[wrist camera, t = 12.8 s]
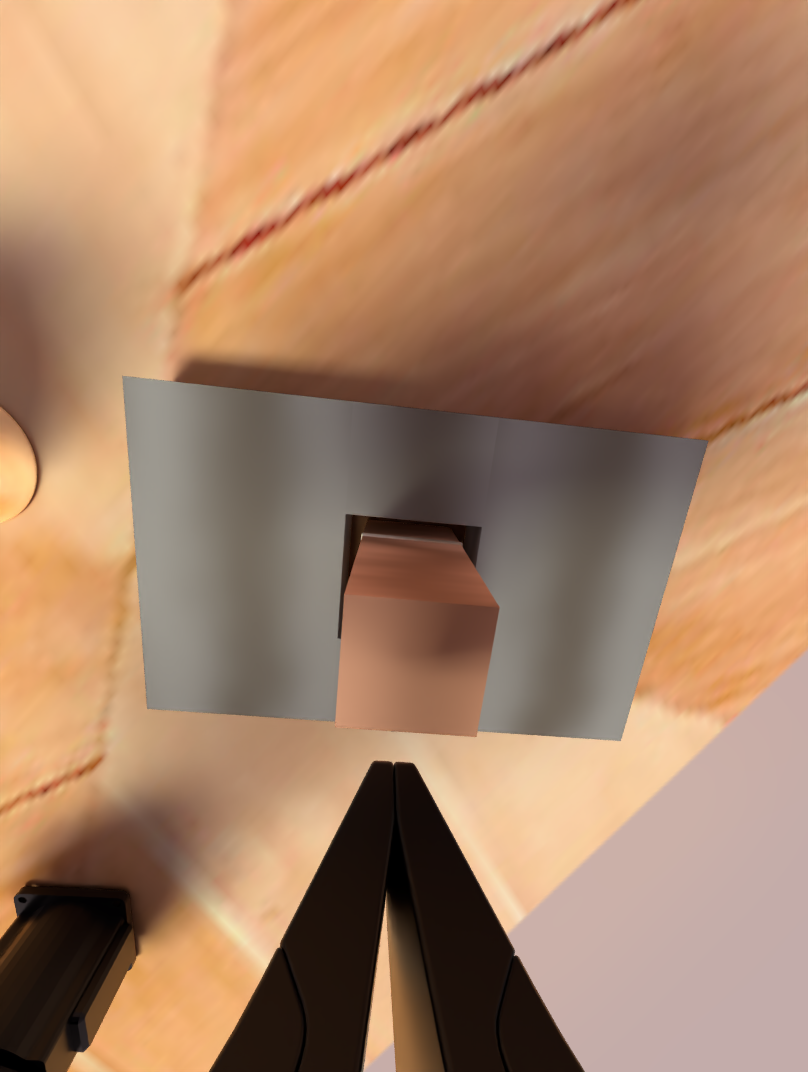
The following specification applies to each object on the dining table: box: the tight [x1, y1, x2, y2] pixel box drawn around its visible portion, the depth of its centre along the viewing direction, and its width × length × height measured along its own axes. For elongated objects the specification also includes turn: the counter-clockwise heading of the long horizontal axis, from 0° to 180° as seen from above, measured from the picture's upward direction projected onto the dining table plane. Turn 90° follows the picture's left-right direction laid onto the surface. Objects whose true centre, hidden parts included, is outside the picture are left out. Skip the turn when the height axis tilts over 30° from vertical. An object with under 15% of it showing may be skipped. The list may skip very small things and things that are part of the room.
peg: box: [335, 519, 500, 737], centre depth 15 cm, size 4×4×9 cm
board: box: [122, 376, 708, 741], centre depth 17 cm, size 22×14×3 cm, turn 84°
